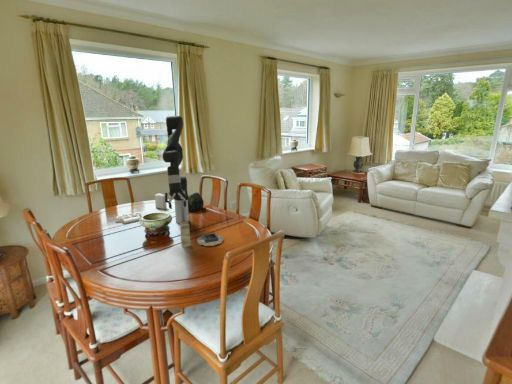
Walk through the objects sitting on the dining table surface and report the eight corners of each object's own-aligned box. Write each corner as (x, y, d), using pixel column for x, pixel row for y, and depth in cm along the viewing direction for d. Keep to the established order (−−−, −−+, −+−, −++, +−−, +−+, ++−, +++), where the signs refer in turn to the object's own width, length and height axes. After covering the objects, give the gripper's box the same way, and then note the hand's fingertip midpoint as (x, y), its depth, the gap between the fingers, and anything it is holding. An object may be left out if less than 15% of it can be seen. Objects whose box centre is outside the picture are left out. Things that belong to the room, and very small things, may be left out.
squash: (179, 203, 239) (188, 191, 232) (191, 199, 252) (200, 188, 245) (189, 216, 236) (199, 205, 229) (201, 212, 249) (210, 201, 242)
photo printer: (167, 208, 244) (166, 193, 241) (163, 209, 241) (162, 195, 238) (158, 206, 249) (157, 192, 246) (154, 207, 246) (153, 193, 243)
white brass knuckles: (119, 225, 207) (114, 220, 218) (145, 220, 218) (138, 215, 229) (119, 221, 206) (113, 215, 217) (145, 215, 217) (138, 211, 228)
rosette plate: (194, 238, 184) (194, 233, 184) (218, 234, 191) (218, 229, 190) (200, 248, 170) (200, 243, 169) (226, 243, 177) (226, 238, 176)
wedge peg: (181, 244, 176) (179, 222, 172) (188, 243, 177) (187, 221, 174) (182, 247, 172) (181, 225, 168) (190, 246, 173) (189, 224, 170)
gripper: (184, 181, 191) (187, 206, 191) (162, 183, 184) (165, 209, 185) (187, 181, 184) (190, 206, 185) (164, 183, 178) (167, 209, 178)
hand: (177, 207), depth 185 cm, fingers open, 8 cm apart
